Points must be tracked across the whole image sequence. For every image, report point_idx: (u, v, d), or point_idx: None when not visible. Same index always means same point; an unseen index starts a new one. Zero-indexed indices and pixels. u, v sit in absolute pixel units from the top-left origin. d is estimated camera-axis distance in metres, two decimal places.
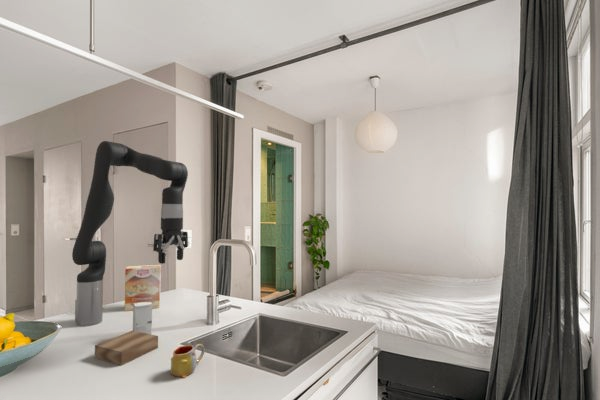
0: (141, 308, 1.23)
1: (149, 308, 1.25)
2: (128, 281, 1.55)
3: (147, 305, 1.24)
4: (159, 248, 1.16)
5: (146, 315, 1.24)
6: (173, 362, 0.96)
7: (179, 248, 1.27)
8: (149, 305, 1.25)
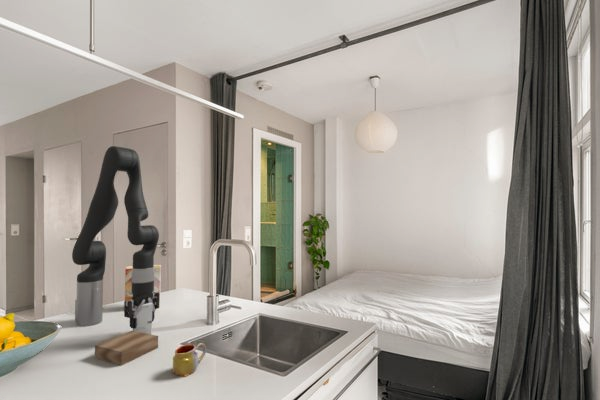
0: (141, 308, 1.23)
1: (149, 308, 1.25)
2: (128, 281, 1.55)
3: (147, 305, 1.24)
4: (130, 315, 1.19)
5: (146, 315, 1.24)
6: (175, 361, 0.97)
7: None
8: (149, 305, 1.25)
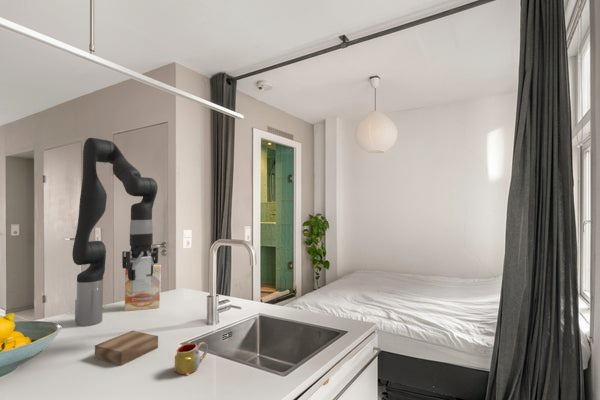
0: (139, 261, 1.20)
1: (148, 261, 1.22)
2: (128, 281, 1.55)
3: (146, 258, 1.22)
4: (128, 265, 1.16)
5: (144, 268, 1.21)
6: (177, 360, 0.97)
7: None
8: (148, 258, 1.22)
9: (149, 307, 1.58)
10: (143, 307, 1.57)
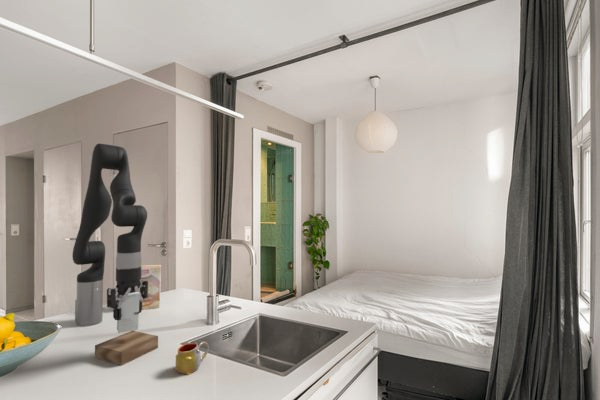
0: (126, 298, 1.10)
1: (136, 297, 1.11)
2: None
3: (133, 294, 1.11)
4: (113, 304, 1.05)
5: (132, 305, 1.10)
6: (178, 359, 0.98)
7: None
8: (136, 294, 1.11)
9: (149, 307, 1.58)
10: (143, 307, 1.57)
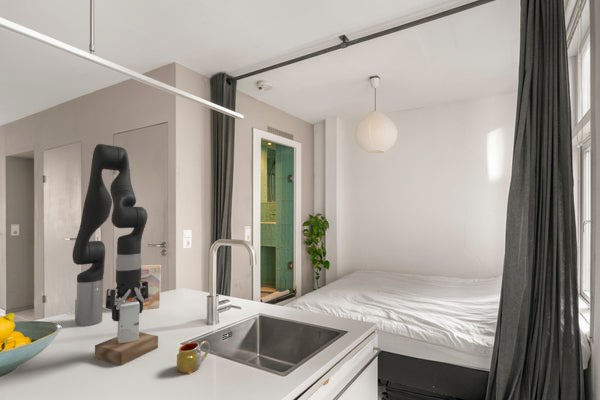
0: (126, 308, 1.10)
1: (136, 308, 1.11)
2: None
3: (134, 305, 1.11)
4: (112, 305, 1.05)
5: (132, 316, 1.10)
6: (179, 358, 0.98)
7: (138, 300, 1.15)
8: (136, 305, 1.11)
9: (149, 307, 1.58)
10: (143, 307, 1.57)
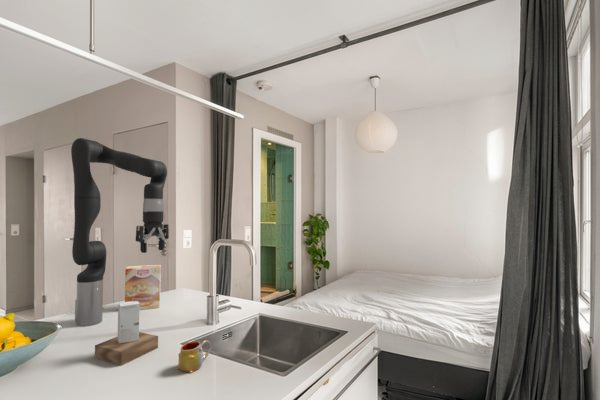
0: (126, 308, 1.10)
1: (136, 308, 1.11)
2: (128, 281, 1.55)
3: (134, 305, 1.11)
4: (141, 238, 1.28)
5: (132, 316, 1.10)
6: (180, 357, 0.99)
7: (160, 239, 1.38)
8: (136, 305, 1.11)
9: (149, 307, 1.58)
10: (143, 307, 1.57)
